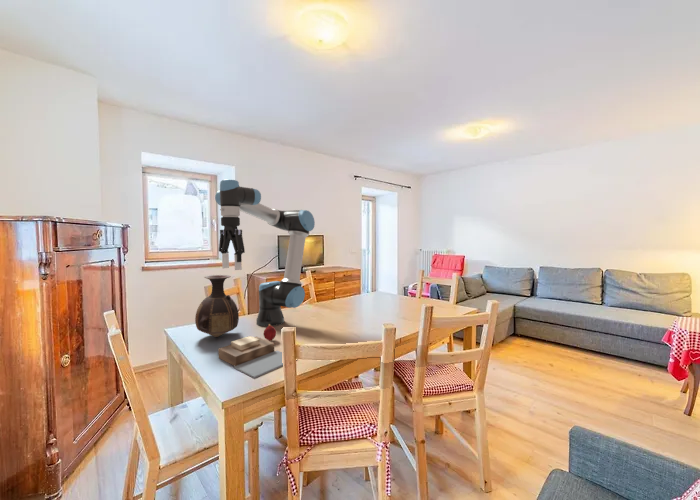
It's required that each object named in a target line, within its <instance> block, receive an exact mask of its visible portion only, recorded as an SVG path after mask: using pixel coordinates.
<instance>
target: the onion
mask: <svg viewBox="0 0 700 500" xmlns="http://www.w3.org/2000/svg"><path fill="white" fill-rule="evenodd" d="M276 336H277V330H276V328H275V327H274V326H271V325H270V324H269V326H266V327H265V329H264V330H263V337H264V339H265V340H267V341H270V342H272V341H273V340H274V339H275V338H276Z"/></svg>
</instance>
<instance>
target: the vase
mask: <svg viewBox="0 0 700 500" xmlns="http://www.w3.org/2000/svg"><path fill="white" fill-rule="evenodd" d="M203 278H204V279H207V280H209V281H210V282H211V293H210V295H209V296H207V297H206V298H204V299H203V300H201V302H200V304H199V305H198V307H197V310H196V312H195V318H194V320H195V321H194V322H195V328H196V329H197V330H198V331H199V332H202V333H204V334H207V335H210V336H212V337H215V338H218V337H220V336H223V335H224V334H227V333H230V332H231V331H233V330H234V329H236V328H237V327H238V325H239V318H240V317H239V310H238V307H237V304H236V302H235V301H234V299H233V298H232V297H231V295H229V294H228V295H226V293H225V289H224V283H225V281H226V279H229V278H231V275H228V274H216V275H215V274H213V275H212V274H211V275H205V276H203Z"/></svg>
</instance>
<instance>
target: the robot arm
mask: <svg viewBox="0 0 700 500" xmlns="http://www.w3.org/2000/svg"><path fill="white" fill-rule="evenodd" d="M214 195H215V196H214V197H215V198H214V199H215V202H216V204H217V205H219V206H220V209H219V210H220V216H221V218H220V225H221V226H222V227H223V229H219V244H218V252H220V254H221V264H222V266H221V267H222V269H229V268H230V260H229V259H230V256H229V254H230V252H229V247H230V244H231V242H232V247H233V249H234V253H233V255H234V258H233V259H234V271H241V270H242V269H243V267H242V261H243V260H242V255H243V254H244V253H245V252H246V251H245V246H244V245H245V244H244V240H243V239H244V238H243V229H238V227H239V226H241V221H240V220H241V219H240V216H241V215H240V213H241V212H242V213H245V214H247V215H250V216H251V217H255V218H257V219H259V220H261V221H264V222H267V224H268V225H270V226H271V227H274V228H277V229H280V230H282V231H286V232H287V233H288V235H289V240H288V248H287V253H286V254H287V255H286V260H285V267H284V275H283V278H282V279H281V280H280V281H278V280H274V281H267V282H261V283H260V284H259V286H258V302H259V303H258V304H259V307H258V308H259V310H258V312H257V313H258V314H257V317H256V325H258V326H260V327H268V326H269V324H270V325H271V326H272V327H274V326H279V325H282V324H284V322H285V317H284V314H283V311H282V308H281V307H283V308H289V309H292V308H293V309H296V308H298V307H300V305H302V303H303V302H304V300H305V296H306V292H305V289H304V288H303V283H302V281H300V280H301V274H302V273H301V272H302V265H303V258H304V257H303V256H304V252H305V251H304V250H305V246H306V245H305V243H306V239H307V237H309V235H310V232H312V231H313V230H314V229H315V217H314V215H313V214H312V213H311V212H310V211H309V210H306V209H299V210H298V209H297V210H296V209H295V210H279V209H277V208H270V207H268V206H266V205H264V204H262V203H261V200H262V194H261V192H260V191H259V189H257V188H253V187H244V186H240V182H239V181H238V180H236V179H221V180H220V183H219V190H217V192H216V193H215V194H214Z"/></svg>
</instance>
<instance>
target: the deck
mask: <svg viewBox="0 0 700 500" xmlns="http://www.w3.org/2000/svg"><path fill="white" fill-rule="evenodd" d="M254 337H255V338H257V339H260V344H258V345H255V346H252V347H249V348H246V349H243V350H238V349H236V348H234V347H231V344H229V345H226V346H221V347H219V348H218V350H217V351H218V359H219V360H221V361H223V362H225V363H228V364H230V365H232V366H233V367H234V366H237V365H240V364H242V363H245V362H248V361H250V360H253V359H256V358H258V357H261V356H264V355H266V354H269V353H272V352H274V351H275V342H273V341H268V340H267V339H265V338H261V337H259V336H254Z"/></svg>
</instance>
